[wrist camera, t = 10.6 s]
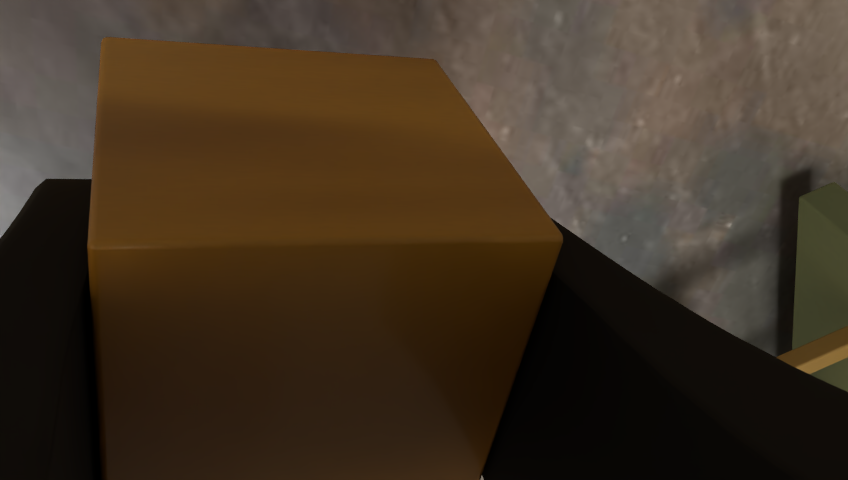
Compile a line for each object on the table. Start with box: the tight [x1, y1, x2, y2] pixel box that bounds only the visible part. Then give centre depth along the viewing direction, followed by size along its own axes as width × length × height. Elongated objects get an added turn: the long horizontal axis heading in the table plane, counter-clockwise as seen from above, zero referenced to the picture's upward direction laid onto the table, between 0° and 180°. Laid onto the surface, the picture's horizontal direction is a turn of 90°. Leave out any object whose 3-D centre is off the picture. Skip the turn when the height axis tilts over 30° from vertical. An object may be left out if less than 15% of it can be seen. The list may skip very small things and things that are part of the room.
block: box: [87, 37, 563, 480], centre depth 9 cm, size 4×4×4 cm
